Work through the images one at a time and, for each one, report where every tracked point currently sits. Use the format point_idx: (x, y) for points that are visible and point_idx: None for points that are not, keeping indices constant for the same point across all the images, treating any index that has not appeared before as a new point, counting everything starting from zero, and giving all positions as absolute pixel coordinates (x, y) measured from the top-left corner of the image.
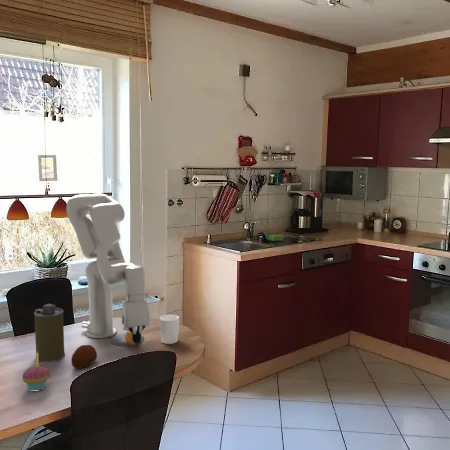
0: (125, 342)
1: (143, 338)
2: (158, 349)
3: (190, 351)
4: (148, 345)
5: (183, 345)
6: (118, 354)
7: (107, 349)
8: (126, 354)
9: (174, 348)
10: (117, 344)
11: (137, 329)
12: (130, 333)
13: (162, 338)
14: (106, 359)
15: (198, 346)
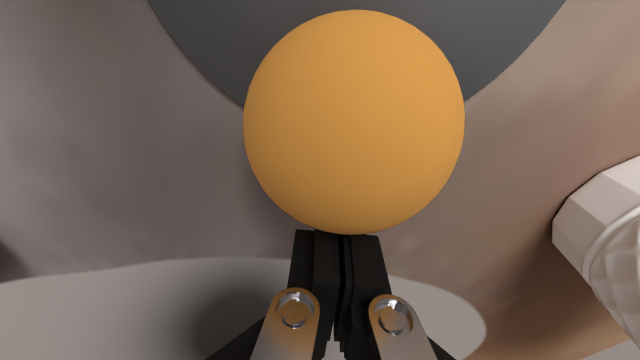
0: (289, 24)
1: (534, 25)
2: (434, 280)
3: (531, 354)
4: (434, 201)
5: (591, 301)
6: (166, 226)
7: (72, 91)
8: (220, 249)
9: (514, 307)
10: (184, 31)
11: (374, 341)
12: (292, 215)
13: (583, 242)
14: (79, 250)
15: (621, 338)
